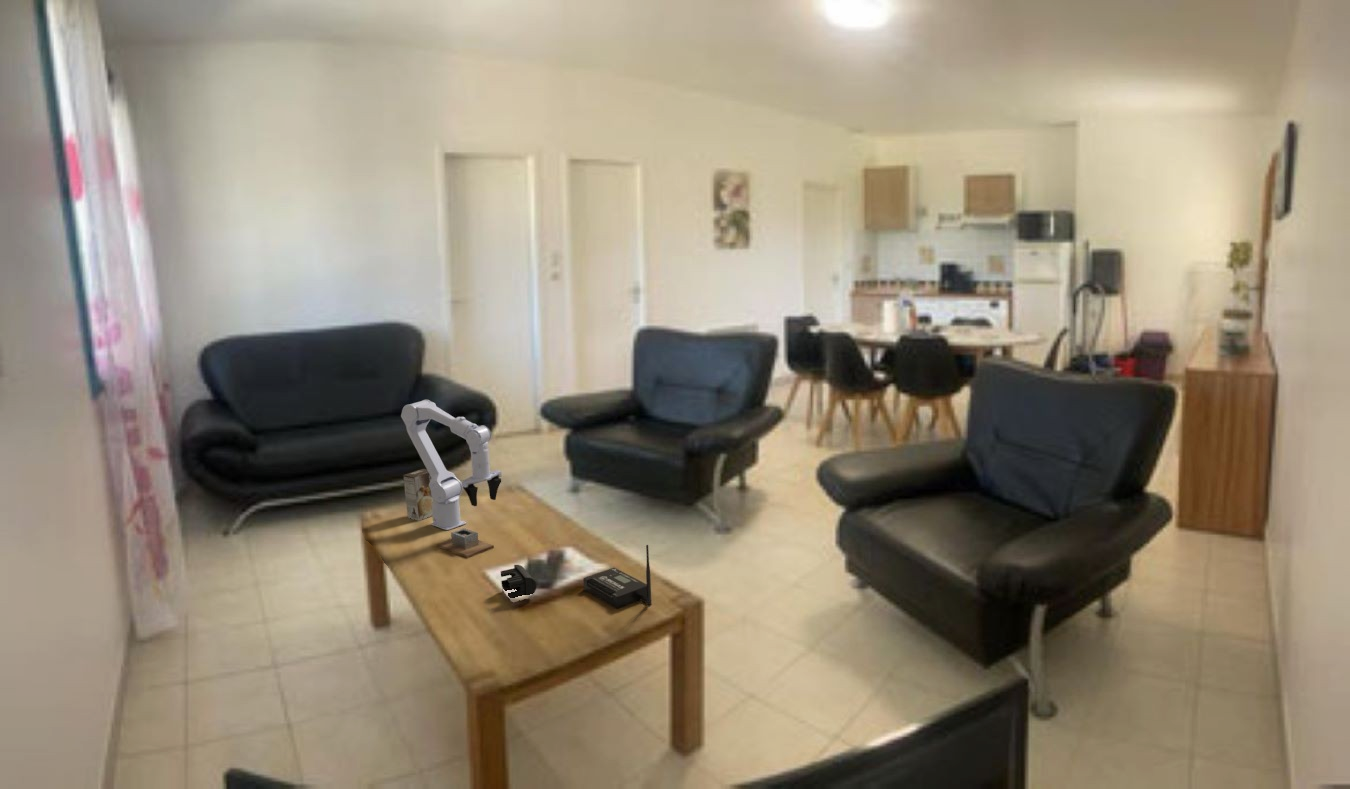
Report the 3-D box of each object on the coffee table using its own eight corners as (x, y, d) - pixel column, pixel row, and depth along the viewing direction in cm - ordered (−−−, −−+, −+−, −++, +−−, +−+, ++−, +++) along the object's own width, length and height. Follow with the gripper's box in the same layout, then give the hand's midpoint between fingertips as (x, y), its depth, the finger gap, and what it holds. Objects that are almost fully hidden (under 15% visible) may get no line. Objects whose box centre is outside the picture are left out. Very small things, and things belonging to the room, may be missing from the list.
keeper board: (437, 546, 255) (436, 534, 254) (463, 536, 262) (462, 525, 261) (467, 558, 245) (466, 545, 244) (493, 547, 252) (492, 535, 251)
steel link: (452, 544, 253) (451, 532, 253) (465, 539, 257) (464, 528, 256) (465, 549, 249) (464, 537, 248) (478, 544, 253) (477, 532, 252)
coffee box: (427, 510, 289) (423, 467, 286) (439, 513, 285) (435, 470, 282) (406, 518, 281) (402, 474, 278) (418, 521, 278) (414, 477, 275)
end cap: (537, 598, 216) (536, 574, 215) (512, 604, 213) (510, 580, 212) (526, 584, 225) (524, 562, 224) (501, 590, 222) (499, 567, 220)
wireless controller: (578, 593, 219) (575, 534, 216) (619, 578, 228) (617, 521, 225) (621, 618, 204) (618, 555, 201) (663, 601, 213) (661, 541, 210)
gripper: (469, 470, 255) (472, 510, 257) (505, 460, 265) (508, 498, 268) (456, 466, 259) (459, 506, 262) (492, 456, 270) (495, 494, 273)
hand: (483, 502), depth 265 cm, fingers open, 7 cm apart
